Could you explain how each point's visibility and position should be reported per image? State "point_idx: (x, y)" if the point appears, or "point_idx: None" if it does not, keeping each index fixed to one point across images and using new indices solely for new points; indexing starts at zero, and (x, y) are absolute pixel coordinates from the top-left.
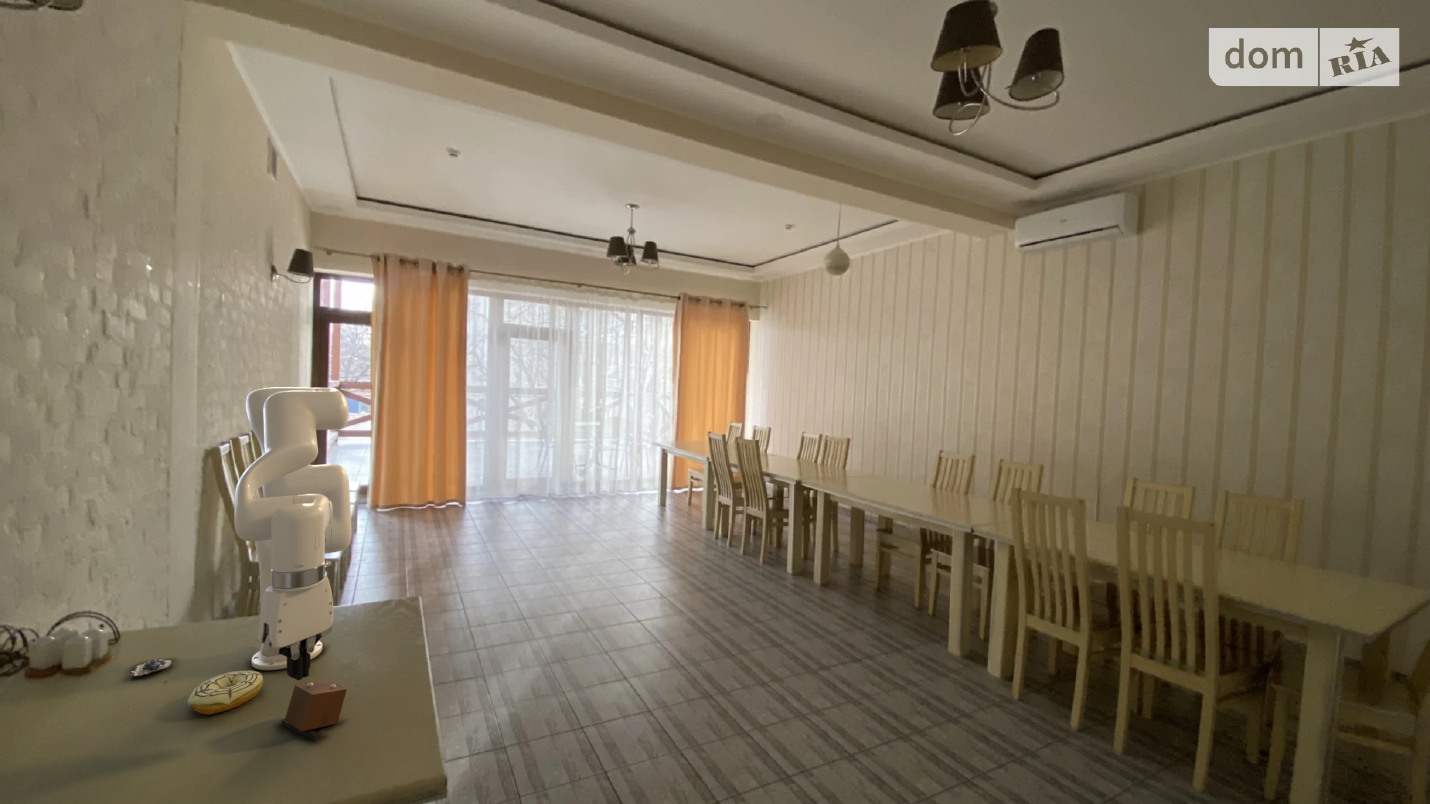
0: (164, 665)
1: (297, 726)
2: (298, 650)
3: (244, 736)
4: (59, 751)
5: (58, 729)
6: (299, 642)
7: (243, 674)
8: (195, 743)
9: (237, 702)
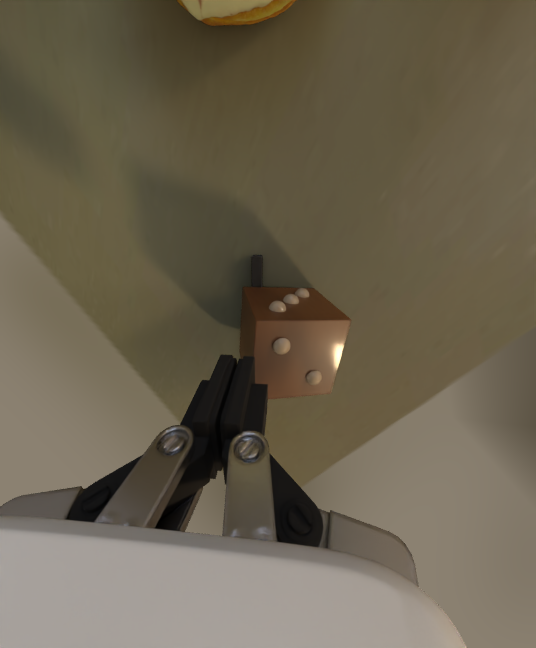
0: None
1: (240, 337)
2: (187, 519)
3: (191, 227)
4: None
5: None
6: (228, 486)
7: None
8: (115, 146)
9: (228, 23)
